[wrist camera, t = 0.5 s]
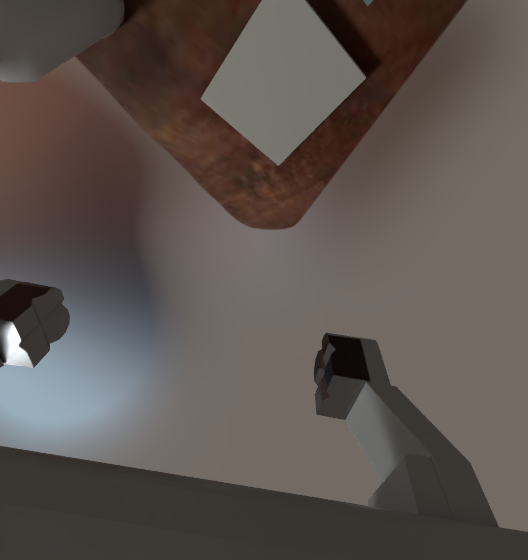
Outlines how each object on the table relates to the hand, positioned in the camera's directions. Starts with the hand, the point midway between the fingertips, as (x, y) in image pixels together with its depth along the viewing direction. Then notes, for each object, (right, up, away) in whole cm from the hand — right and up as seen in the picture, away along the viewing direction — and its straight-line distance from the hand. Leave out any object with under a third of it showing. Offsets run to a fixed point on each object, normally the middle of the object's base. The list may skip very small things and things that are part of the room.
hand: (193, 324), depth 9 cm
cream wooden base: (+5, +31, +36) cm, 48 cm away
